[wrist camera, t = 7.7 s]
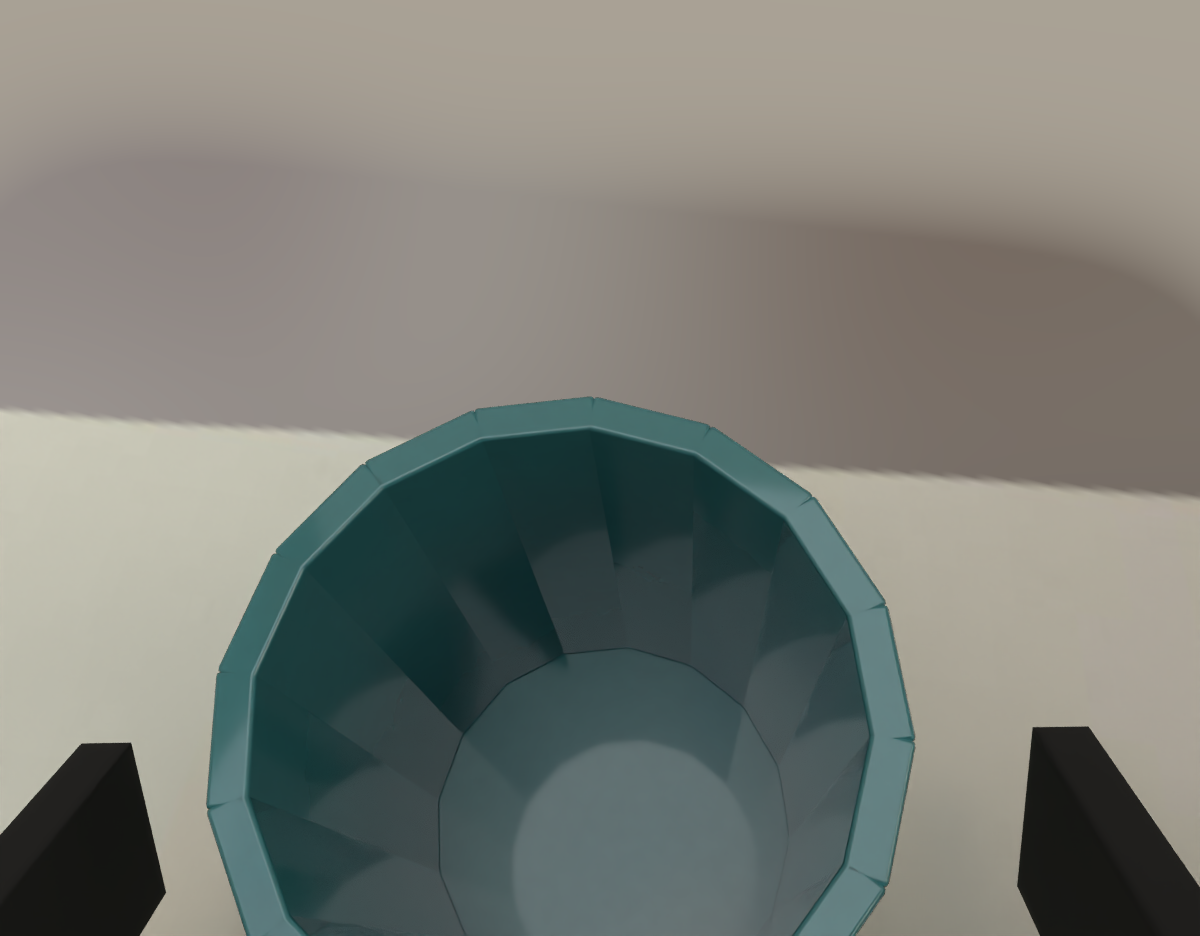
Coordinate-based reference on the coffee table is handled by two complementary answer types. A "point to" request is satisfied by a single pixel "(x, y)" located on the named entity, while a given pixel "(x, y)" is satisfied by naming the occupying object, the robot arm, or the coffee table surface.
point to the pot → (561, 695)
